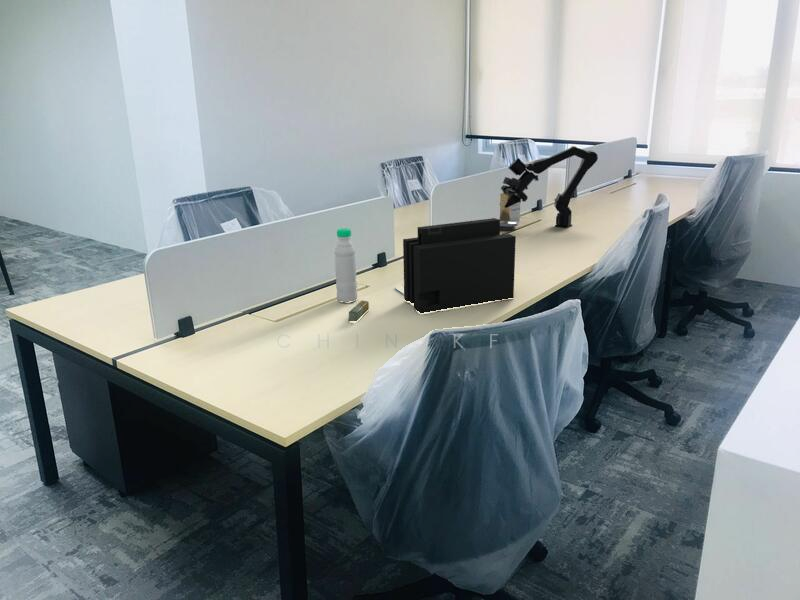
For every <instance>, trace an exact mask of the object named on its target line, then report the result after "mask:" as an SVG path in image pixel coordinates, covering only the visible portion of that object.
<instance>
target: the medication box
mask: <svg viewBox="0 0 800 600" xmlns="http://www.w3.org/2000/svg"><path fill="white" fill-rule="evenodd" d="M369 307H370V305H369V301H368V300H360V301H359V302H358V303H356V305H355V306H354V307H352V308H351V310H349V311H348V322H349V321H357V320H358V319H359V318H360V317H361V316H362V315H363V314H364V313H365V312H366V311H367V310H368V309H370V308H369Z"/></svg>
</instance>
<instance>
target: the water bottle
mask: <svg viewBox="0 0 800 600" xmlns="http://www.w3.org/2000/svg"><path fill="white" fill-rule="evenodd" d="M336 236H337V239H338V240H337V243H336V246H335V247H334V250H333V251H334V256H335V257H334V264H335V265H334V266H335V267H334V268H335V269H334V270H335V278H336V283H335V284H336V285H335V286H336V300H337V302H339V301H343V302H349V301H354V300H356V299H357V300H358V290H357V289H358V284H357V283H358V282H357V261H356V248H355V246H354V244H353V242H352V241H351V237H352V230H351V229H350V228H347V227H346V228H345V227H344V228H339V229H337V230H336ZM357 300H356V301H357Z"/></svg>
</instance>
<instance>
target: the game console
mask: <svg viewBox="0 0 800 600" xmlns="http://www.w3.org/2000/svg"><path fill="white" fill-rule="evenodd" d="M499 219H500V218H495V217H493V218H485V219H484V218H483V219H476V220H475V219H474V220H468V221H467V220H466V221H458V222H451V223H442V224H441V223H440V224H434V225H425V226H417V236H416V237H411V238H403V239H402V245H403V247H402V252H403V258H402V260H403V286H404V295H403V298H404V299H405V300H406V301H410V302H411V303H414V307H413V308H415V309H416V310H417V311H419V312H420V313H424V312H430V311H436V310H441V309H447V308H453V307H460V306H465V305H471V304H478V303H483V302H488V301H495V300H502V299H508V298H514V297H515V293H514V292H515V270H516V269H515V265H516V264H515V263H516V242H517V241H516V238H517V236H516V235H513V234H511V233H505V234H501V233H500V232H501V230H500V220H499Z"/></svg>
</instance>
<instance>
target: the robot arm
mask: <svg viewBox="0 0 800 600" xmlns="http://www.w3.org/2000/svg"><path fill="white" fill-rule="evenodd" d="M574 156H576V157H577V158H580V159H581V161H580V164H579V166H578V168H577V170H576V171H575V174H574V175H573V177H572V178H571V180H570V181H569V183H568V185H567V187H566V188H565V190H564V191H563V192H562V193H560V192H558V193H557V194H556V195H557V196H556V197H555V199H554V203H553V205H554V208H555V209H556V211H557V214H556V217H555V224H554V227H558V228H565V229H567V228H569V227H572V226H573V224H572V216H573V215H572V212H573V211H572V209H571V208H570V207H569V205H570V203H571V199H572V196H573V194H574V193H575V191H576V189H577V188H578V186H579V185H580V184H581V181H582V180H583V178H584V177H585V175H586V173H587V172H588V171H589V170H590V169H591V168H592V167H593V166H594V165H595V164H596V162H597V161H598V158H599V157H598V154H597V153H596V152H595V151H594V150H591V149H590V150H589V149H588V150H586V149H582V148H580V147H577V146H574V145H572V146H570V147H569V148H567V149H565V150H562V151H559V152H558V153H555V154H554V155H551V156H549V157H546V158H540V159H537V160H534V161H532V162H531V163H527V164H526V163H524V162H523V161H522V160H521V159H520V157H517V158H516V159H515V160H514V161H512V162H511V163H510V165H509V166H508V167H507V168H508V170H509V171H511V172H512V173H513V175H515V176H520V177H518V178H515V177H512V178H509V177H504V179H503V182H502V184H503V185H502V186H501V187H500V190H501V191H502V193H511V198H510V199H509V200H508V202H507V203H506V205H505V208H507V207H509V206H512V205H514V204H516V203H518V202H520V203H521V202H523V203H526V201H528V195H527V194H526V193H525V192H524V191H525V190H529V186H530V184H531V183H533V181H535V182H538V181H539V175H538V174H541V173H543V172H544V171H546V170H548V169H549V168H550V167H551V166H553V165H555V164H558V163H560V162H562V161H565V160H566V159H569V158H571V157H574ZM536 174H537V175H536Z"/></svg>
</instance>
